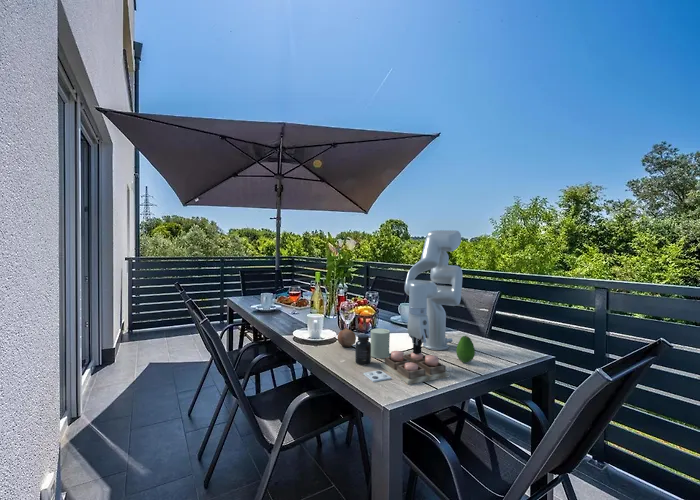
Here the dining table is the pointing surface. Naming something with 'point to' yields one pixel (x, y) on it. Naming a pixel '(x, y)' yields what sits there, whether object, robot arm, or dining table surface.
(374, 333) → the can
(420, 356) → the button
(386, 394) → the dining table surface
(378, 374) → the tile
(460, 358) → the avocado
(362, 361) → the supplement bottle
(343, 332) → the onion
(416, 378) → the board
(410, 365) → the button
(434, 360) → the button
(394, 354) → the button
